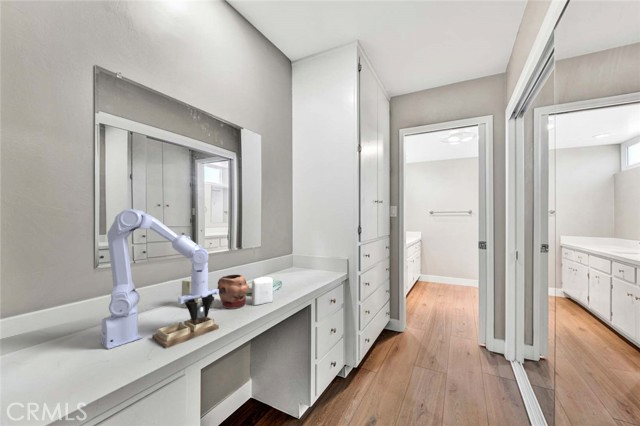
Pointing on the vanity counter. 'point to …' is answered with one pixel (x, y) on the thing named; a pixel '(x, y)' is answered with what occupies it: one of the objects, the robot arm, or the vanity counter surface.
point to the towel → (275, 286)
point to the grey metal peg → (200, 315)
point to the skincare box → (186, 290)
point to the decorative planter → (232, 291)
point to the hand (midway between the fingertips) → (199, 318)
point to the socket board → (183, 332)
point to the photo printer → (262, 290)
